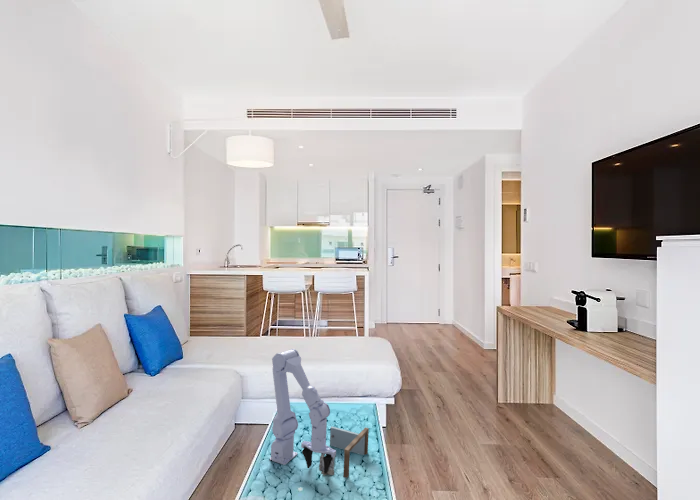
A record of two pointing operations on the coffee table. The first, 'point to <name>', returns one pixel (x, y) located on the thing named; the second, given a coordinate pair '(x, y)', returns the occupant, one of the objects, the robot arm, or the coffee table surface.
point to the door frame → (350, 447)
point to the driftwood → (331, 467)
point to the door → (346, 440)
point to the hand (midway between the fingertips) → (317, 469)
